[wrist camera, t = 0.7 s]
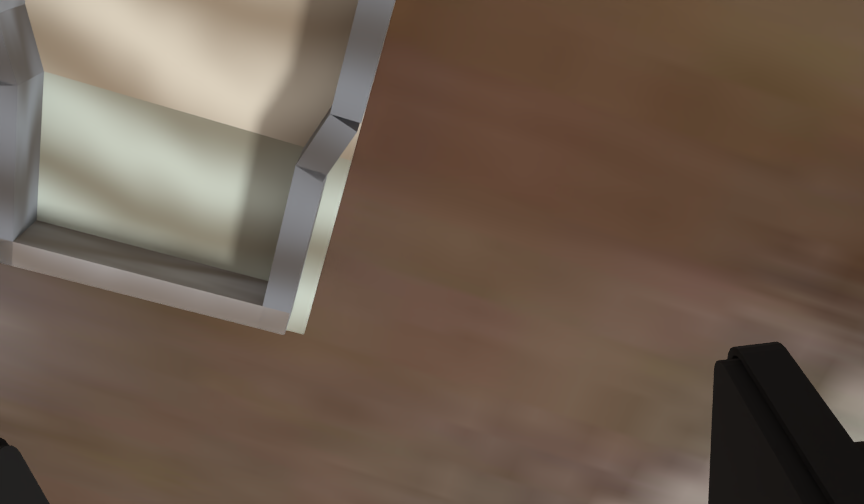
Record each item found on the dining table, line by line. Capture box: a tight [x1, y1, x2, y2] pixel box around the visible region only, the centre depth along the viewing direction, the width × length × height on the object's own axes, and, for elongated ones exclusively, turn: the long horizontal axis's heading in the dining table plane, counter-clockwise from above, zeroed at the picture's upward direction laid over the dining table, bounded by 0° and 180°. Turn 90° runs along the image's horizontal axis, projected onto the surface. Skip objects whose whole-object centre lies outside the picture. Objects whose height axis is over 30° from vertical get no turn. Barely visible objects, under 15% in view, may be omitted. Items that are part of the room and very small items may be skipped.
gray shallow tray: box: [0, 0, 395, 335], centre depth 35 cm, size 25×18×4 cm
